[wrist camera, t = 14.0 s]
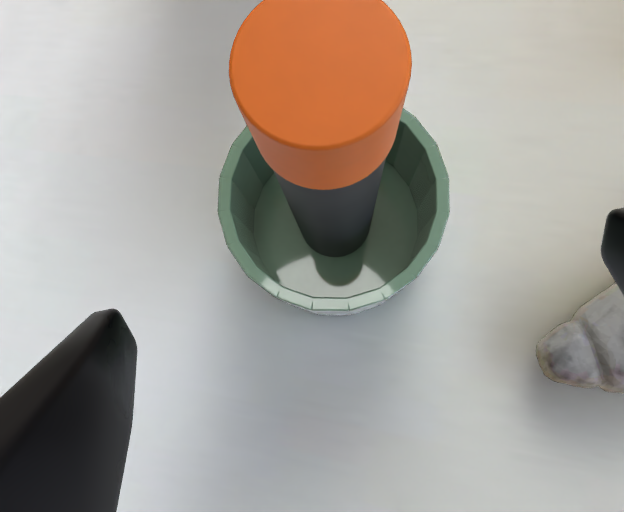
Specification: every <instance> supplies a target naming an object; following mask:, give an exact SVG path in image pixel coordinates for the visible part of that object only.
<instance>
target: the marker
mask: <svg viewBox="0 0 624 512" xmlns="http://www.w3.org/2000/svg"><path fill="white" fill-rule="evenodd" d="M411 67H412V60H411V50H410V45H409V41H408V38H407V35H406V32H405V30H404V28H403V26H402V25H401V23H400V21H399V19H398V18H397V17H396V15H395V14H394V12H393V11H392V10H391V9H390V8H389V7H388V6H387V5H386V4H385V3H384V2H383V1H382V0H263V1H262V2H261V3H259V4H258V5H257V6H256V7H255V8H254V9H253V10H252V11H251V13H250V14H249V15H248V16H247V18H246V19H245V20H244V22H243V23H242V25H241V27H240V28H239V30H238V33H237V35H236V37H235V39H234V42H233V46H232V49H231V53H230V60H229V78H230V85H231V89H232V92H233V96H234V98H235V100H236V103H237V105H238V107H239V109H240V111H241V113H242V116H243V118H244V120H245V122H246V124H247V126H248V128H249V130H250V132H251V134H252V136H253V138H254V141H255V143H256V145H257V147H258V149H259V151H260V153H261V155H262V156H263V158H264V160H265V161H266V162H267V163H268V165H269V166H270V167H271V168H272V169H273V171H274V173H275V175H276V178H277V180H278V182H279V184H280V186H281V189H282V191H283V193H284V195H285V197H286V200H287V202H288V204H289V206H290V209H291V211H292V213H293V215H294V217H295V220H296V222H297V224H298V226H299V228H300V231H301V233H302V235H303V237H304V239H305V241H306V243H307V244H308V245H309V246H310V247H311V248H312V249H313V250H314V251H316V252H318V253H319V254H322V255H324V256H328V257H341V256H346V255H348V254H351V253H353V252H354V251H356V250H357V249H358V248H359V247H360V246H361V245H362V244H363V243H364V241H365V240H366V238H367V236H368V233H369V230H370V225H371V221H372V217H373V212H374V208H375V203H376V199H377V195H378V190H379V186H380V182H381V177H382V173H383V169H384V164H385V160H386V157H387V155H388V153H389V151H390V150H391V148H392V145H393V143H394V140H395V137H396V133H397V129H398V125H399V121H400V117H401V113H402V109H403V105H404V101H405V97H406V93H407V89H408V85H409V81H410V77H411Z"/></svg>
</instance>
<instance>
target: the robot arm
mask: <svg viewBox="0 0 624 512" xmlns="http://www.w3.org/2000/svg"><path fill="white" fill-rule="evenodd" d="M601 255H602V258H603V261H604V263H605V265H606V266H607V268H608V270H609V272H610V273H611V275H612V277H613V278H614V280H615V282H616V284H617V285H618V287H619V289H620V291H621V292H622V294H623V296H624V208H620V209H615V210H612V211H611V212H610V213H609V214H608V216H607V219H606V224H605V229H604V234H603V239H602V245H601ZM136 362H137V345H136V341H135V339H134V337H133V335H132V333H131V331H130V329H129V328H128V326H127V324H126V322H125V320H124V319H123V317H122V315H121V314H120V312H119V311H118V310H116V309H108V310H103V311H98V312H94V313H93V314H91V315H90V316H89V317H88V318H87V319H86V320H85V321H84V322H82V323H81V324H80V325H79V326H78V327H77V328H76V329H75V330H74V331H73V332H72V333H70V334H69V335H68V336H67V337H66V338H65V339H64V340H63V341H62V342H61V343H60V344H58V345H57V346H56V347H55V348H54V349H53V350H52V351H51V352H50V353H49V354H48V355H46V356H45V357H44V358H43V359H42V360H41V361H40V362H39V363H38V364H37V365H36V366H34V367H33V368H32V369H31V370H30V371H29V372H28V373H27V374H26V375H25V376H23V377H22V378H21V379H20V380H19V381H18V382H17V383H16V384H15V385H14V386H13V387H11V388H10V389H9V390H8V391H7V392H6V393H5V394H4V395H3V396H2V397H1V398H0V512H116V510H117V505H118V500H119V494H120V489H121V483H122V478H123V473H124V467H125V462H126V456H127V451H128V446H129V440H130V434H131V428H132V420H133V408H134V393H135V377H136Z"/></svg>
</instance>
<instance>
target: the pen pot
mask: <svg viewBox="0 0 624 512" xmlns="http://www.w3.org/2000/svg"><path fill="white" fill-rule="evenodd" d="M449 212H450V210H449V178H448V173H447V171H446V168H445V165H444V162H443V160H442V157H441V154H440V151H439V149H438V146H437V144H436V142H435V141H434V140H433V139H432V137H431V136H430V135H429V134H428V132H427V131H426V130H425V128H424V127H423V126H422V125H421V123H420V122H419V121H418V120H417V118H416V117H414V115H412V114H411V113H409V112H408V111H406V110H405V109H402V113H401V117H400V121H399V125H398V129H397V133H396V137H395V140H394V143H393V145H392V148H391V150H390V151H389V153H388V155H387V157H386V160H385V164H384V169H383V173H382V177H381V182H380V186H379V190H378V195H377V199H376V203H375V208H374V212H373V217H372V221H371V225H370V230H369V233H368V236H367V238H366V240H365V241H364V243H363V244H362V245H361V246H360V247H359V248H358V249H357V250H356V251H354V252H353V253H351V254H348V255H346V256H341V257H328V256H324V255H322V254H319V253H318V252H316V251H314V250H313V249H312V248H311V247H310V246H309V245H308V244H307V243H306V241H305V239H304V237H303V235H302V233H301V231H300V228H299V226H298V224H297V222H296V220H295V217H294V215H293V213H292V211H291V209H290V206H289V204H288V202H287V200H286V197H285V195H284V193H283V191H282V189H281V186H280V184H279V182H278V180H277V178H276V175H275V173H274V171H273V169H272V168H271V167H270V166H269V165H268V163H267V162H266V161H265V160H264V158H263V156H262V155H261V153H260V151H259V149H258V147H257V145H256V143H255V141H254V138H253V136H252V134H251V132H250V130H249V128H248V126H246V128H245V129H244V130H243V131H242V133H241V134H240V135H239V136H238V138H237V139H236V140H235V141H234V143H233V144H232V146H231V148H230V151H229V153H228V156H227V159H226V161H225V164H224V167H223V169H222V172H221V174H220V178H219V194H218V216H219V219H220V223H221V226H222V230H223V234H224V237H225V241H226V245H227V246H228V249H229V250H230V252H231V253H232V254H233V256H234V257H235V259H236V260H237V262H238V263H239V265H240V266H241V268H242V269H243V271H244V272H245V274H246V275H247V276H248V277H249V278H250V279H252V280H253V281H254V282H255V283H257V284H258V285H259V286H261V287H262V288H263V289H265V290H266V291H267V292H269V293H270V294H271V295H272V296H274V297H275V298H277V299H279V300H281V301H283V302H285V303H287V304H289V305H291V306H294V307H297V308H300V309H303V310H306V311H309V312H311V313H314V314H317V315H318V314H319V315H332V316H337V315H352V314H355V313H359V312H362V311H365V310H368V309H371V308H375V307H377V306H379V305H380V304H382V303H383V302H385V301H386V300H388V299H389V298H390V297H392V296H393V295H395V294H396V293H397V292H399V291H400V290H402V289H403V288H404V287H406V286H407V285H408V284H409V283H411V282H412V281H413V280H415V278H417V277H418V275H419V274H420V273H421V271H422V270H423V269H424V267H425V266H426V265H427V263H428V262H429V260H430V259H431V258H432V256H433V255H434V254H435V252H436V251H437V250H438V247H439V245H440V242H441V239H442V236H443V233H444V229H445V226H446V223H447V220H448V217H449Z"/></svg>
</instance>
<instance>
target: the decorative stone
mask: <svg viewBox="0 0 624 512" xmlns="http://www.w3.org/2000/svg"><path fill="white" fill-rule="evenodd" d="M536 356H537V359H538V362H539V365H540V367H541V369H542V371H543V373H544V375H545V376H547V377H548V378H549V379H551V380H553V381H555V382H558V383H566V384H569V385H572V386H577V387H583V388H593V387H597V386H599V387H600V388H601V389H603V390H604V391H607V392H615V393H623V394H624V296H623V294H622V292H621V291H620V289H619V287H618V285H617V284H616V283H615V284H614V285H612V286H610V287H609V288H608V289H606V290H605V291H603V292H601V293H600V294H598V295H597V296H595V297H594V298H593V299H592V300H590V301H588V302H587V303H585V304H584V305H583V306H581V307H580V308H579V309H578V310H577V311H576V312H575V314H574V315H573V317H572V319H571V321H569V322H565V323H562V324H560V325H559V326H557V327H556V328H554V329H553V330H552V331H551V332H550V333H549V334H547V335H546V336H545V337H544V338H542V339H541V340H540V341H539V342H538V344H537V346H536Z"/></svg>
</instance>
